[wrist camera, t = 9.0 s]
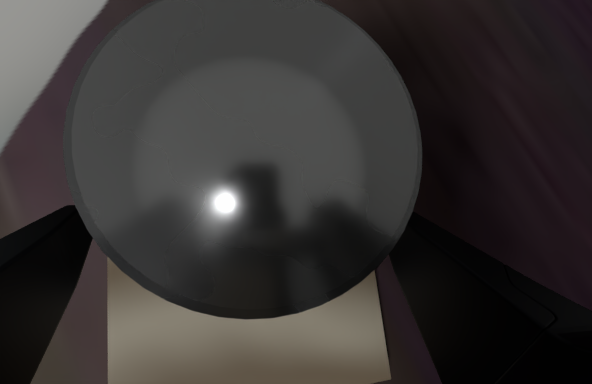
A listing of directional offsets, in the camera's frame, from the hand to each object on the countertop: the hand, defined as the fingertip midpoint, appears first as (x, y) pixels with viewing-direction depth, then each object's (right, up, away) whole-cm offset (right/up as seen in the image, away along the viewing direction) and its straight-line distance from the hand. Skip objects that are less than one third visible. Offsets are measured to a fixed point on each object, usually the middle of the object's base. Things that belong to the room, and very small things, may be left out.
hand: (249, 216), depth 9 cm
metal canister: (-1, -1, +7) cm, 8 cm away
